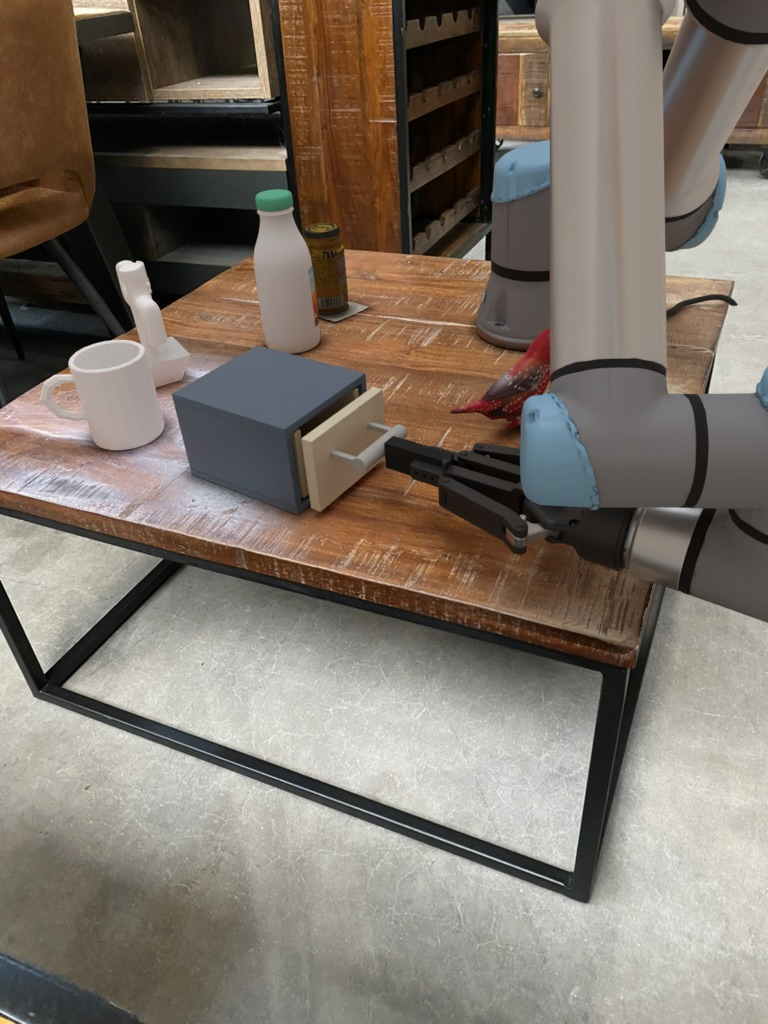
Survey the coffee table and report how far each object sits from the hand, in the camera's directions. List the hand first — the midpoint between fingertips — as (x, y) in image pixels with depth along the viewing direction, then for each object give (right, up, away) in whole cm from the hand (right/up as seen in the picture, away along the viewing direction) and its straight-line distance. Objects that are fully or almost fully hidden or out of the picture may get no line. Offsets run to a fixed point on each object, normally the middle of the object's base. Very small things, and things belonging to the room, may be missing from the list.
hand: (389, 451), depth 71 cm
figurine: (-30, +12, +29) cm, 43 cm away
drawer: (-7, -1, +7) cm, 10 cm away
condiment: (-8, +25, +45) cm, 52 cm away
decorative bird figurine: (+13, +3, +13) cm, 19 cm away
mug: (-32, +3, +17) cm, 36 cm away
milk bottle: (-13, +18, +36) cm, 42 cm away
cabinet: (-11, -1, +10) cm, 15 cm away
